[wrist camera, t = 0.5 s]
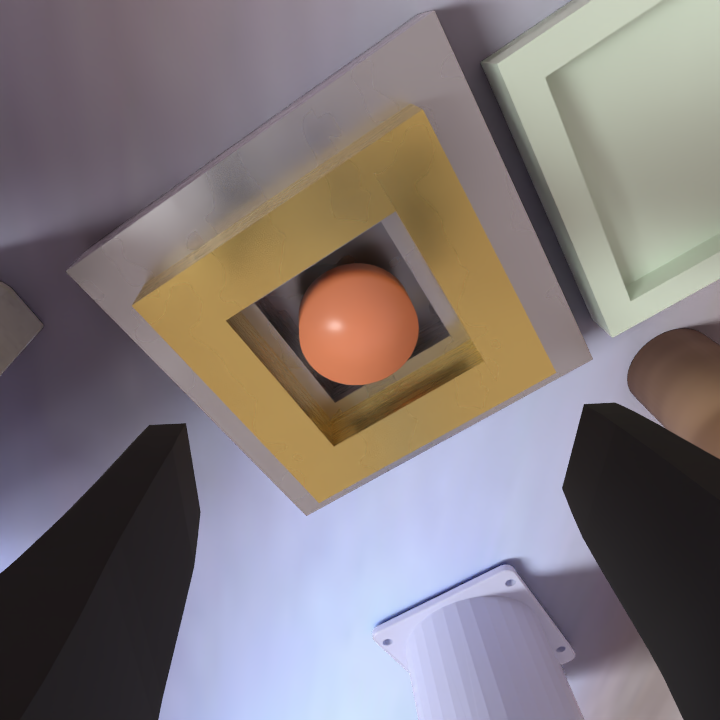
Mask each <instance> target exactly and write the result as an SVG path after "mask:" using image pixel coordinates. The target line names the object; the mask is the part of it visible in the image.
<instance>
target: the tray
mask: <svg viewBox="0 0 720 720" xmlns="http://www.w3.org/2000/svg"><path fill="white" fill-rule="evenodd" d="M480 63H481V65H482V67H483V70H484V72H485V74H486V76H487V79H488V81H489V83H490V86H491V88H492V90H493V93H494V95H495V97H496V99H497V102H498V104H499V106H500V109H501V111H502V113H503V116H504V118H505V120H506V122H507V125H508V127H509V129H510V132H511V134H512V136H513V139H514V141H515V143H516V145H517V148H518V150H519V152H520V155H521V157H522V159H523V162H524V164H525V166H526V168H527V171H528V173H529V175H530V178H531V180H532V182H533V185H534V187H535V189H536V191H537V194H538V196H539V198H540V201H541V203H542V205H543V208H544V210H545V212H546V214H547V217H548V219H549V221H550V224H551V226H552V228H553V231H554V233H555V235H556V237H557V240H558V242H559V244H560V247H561V249H562V251H563V254H564V256H565V258H566V260H567V263H568V265H569V267H570V270H571V272H572V274H573V277H574V279H575V281H576V283H577V286H578V288H579V290H580V293H581V295H582V297H583V300H584V302H585V304H586V306H587V309H588V311H589V313H590V316H591V318H592V320H593V321H594V322H596V323H597V324H598V325H599V326H600V327H601V328H602V329H603V330H604V331H605V332H607V333H608V334H609V335H610V336H611V337H612V338H613V337H615V336H617V335H618V334H620V333H622V332H624V331H626V330H628V329H629V328H631V327H633V326H635V325H637V324H638V323H640V322H642V321H644V320H646V319H648V318H649V317H651V316H653V315H655V314H657V313H658V312H660V311H662V310H664V309H666V308H667V307H669V306H671V305H673V304H675V303H677V302H678V301H680V300H682V299H684V298H686V297H687V296H689V295H691V294H693V293H695V292H697V291H698V290H700V289H702V288H704V287H706V286H707V285H709V284H711V283H713V282H715V281H716V280H718V279H720V0H572V1H570V2H569V3H567V4H566V5H564V6H563V7H561V8H560V9H558V10H557V11H555V12H554V13H552V14H551V15H549V16H548V17H547V18H545V19H544V20H542V21H541V22H539V23H538V24H536V25H535V26H533V27H532V28H530V29H529V30H527V31H526V32H524V33H523V34H521V35H520V36H518V37H517V38H516V39H514V40H513V41H511V42H510V43H508V44H507V45H505V46H504V47H502V48H501V49H499V50H498V51H496V52H495V53H493V54H492V55H490V56H489V57H487V58H486V59H485V60H483V61H482V62H480Z"/></svg>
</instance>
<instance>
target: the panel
mask: <svg viewBox="0 0 720 720" xmlns="http://www.w3.org/2000/svg"><path fill="white" fill-rule="evenodd" d="M351 263H364V264H370V265H374V266H377V267H380V268H382V269H384V270H386V271H388V272H390V273H391V274H392V275H393V276H395V277H396V278H397V279H398V280H399V281H400V282H401V284H402V285H403V287H404V288H405V290H406V292H407V294H408V296H409V298H410V300H411V302H412V304H413V306H414V309H415V311H416V314H417V318H418V323H419V333H418V339H417V343H416V346H415V348H414V351H413V352H412V354H411V356H410V357H409V359H408V360H407V362H406V363H405V364H404V365H403V366H402V367H401V368H400V369H399V370H397V371H396V372H395V373H393V374H392V375H390V376H389V377H387V378H385V379H383V380H380V381H377V382H374V383H370V384H364V385H346V384H341V383H337V382H334V381H332V380H329V379H327V378H325V377H324V376H322V375H321V374H319V373H318V372H317V371H316V370H314V369H313V367H312V366H311V365H310V364H309V363H308V361H307V360H306V358H305V356H304V354H303V352H302V349H301V346H300V340H299V307H300V304H301V300H302V298H303V296H304V294H305V292H306V290H307V289H308V287H309V286H310V285H311V284H312V282H313V281H314V280H316V279H317V278H318V277H319V276H320V275H322V274H323V273H325V272H326V271H328V270H330V269H332V268H335V267H337V266H341V265H344V264H351ZM66 273H67V274H68V275H69V276H70V277H71V278H72V279H73V280H74V281H75V282H76V283H77V284H78V285H79V286H80V287H81V288H82V289H83V290H84V291H85V292H86V293H87V294H88V295H89V296H90V297H91V298H92V299H93V300H94V301H95V302H96V303H97V304H98V305H99V306H100V307H101V308H102V309H103V310H104V311H105V312H106V313H107V314H108V315H109V316H110V317H111V318H112V319H113V320H114V321H115V322H116V323H117V324H118V325H119V326H120V327H121V328H122V329H123V330H124V331H125V332H126V333H127V334H128V335H129V336H130V337H131V338H132V340H133V341H134V342H135V343H136V344H137V345H138V346H139V347H140V348H141V349H142V350H143V351H144V352H145V353H146V354H147V355H148V356H149V357H150V358H151V359H152V360H153V361H154V362H155V363H156V364H157V365H158V366H159V367H160V368H161V369H162V370H163V371H164V372H165V373H166V374H167V375H168V376H169V377H170V378H171V379H172V380H173V381H174V382H175V383H176V384H177V385H178V386H179V387H180V388H181V389H182V390H183V391H184V392H185V393H186V394H187V395H188V396H189V397H190V398H191V399H192V400H193V401H194V402H195V403H196V404H197V405H198V406H199V407H200V408H201V410H202V411H203V412H204V413H205V414H206V415H207V416H208V417H209V418H210V419H211V420H212V421H213V422H214V423H215V424H216V425H217V426H218V427H219V428H220V429H221V430H222V431H223V432H224V433H225V434H226V435H227V436H228V437H229V438H230V439H231V440H232V441H233V442H234V443H235V444H236V445H237V446H238V447H239V448H240V449H241V450H242V451H243V452H244V453H245V454H246V455H247V456H248V457H249V458H250V459H251V460H252V461H253V462H254V463H255V464H256V465H257V466H258V467H259V468H260V469H261V470H262V471H263V472H264V473H265V474H266V475H267V476H268V477H269V478H270V479H271V481H272V482H273V483H274V484H275V485H276V486H277V487H278V488H279V489H280V490H281V491H282V492H283V493H284V494H285V495H286V496H287V497H288V498H289V499H290V500H291V501H292V502H293V503H294V504H295V505H296V506H297V507H298V508H299V509H300V510H301V511H302V512H303V513H304V514H305V515H306V516H307V515H309V514H311V513H313V512H314V511H316V510H318V509H320V508H322V507H324V506H325V505H327V504H329V503H331V502H333V501H335V500H336V499H338V498H340V497H342V496H344V495H346V494H347V493H349V492H351V491H353V490H355V489H357V488H358V487H360V486H362V485H364V484H366V483H368V482H369V481H371V480H373V479H375V478H377V477H378V476H380V475H382V474H384V473H386V472H388V471H389V470H391V469H393V468H395V467H397V466H399V465H400V464H402V463H404V462H406V461H408V460H410V459H411V458H413V457H415V456H417V455H419V454H421V453H422V452H424V451H426V450H428V449H430V448H431V447H433V446H435V445H437V444H439V443H441V442H442V441H444V440H446V439H448V438H450V437H452V436H453V435H455V434H457V433H459V432H461V431H463V430H464V429H466V428H468V427H470V426H472V425H474V424H475V423H477V422H479V421H481V420H483V419H484V418H486V417H488V416H490V415H492V414H494V413H495V412H497V411H499V410H501V409H503V408H505V407H506V406H508V405H510V404H512V403H514V402H516V401H517V400H519V399H521V398H523V397H525V396H527V395H528V394H530V393H532V392H534V391H536V390H538V389H539V388H541V387H543V386H545V385H547V384H548V383H550V382H552V381H554V380H556V379H558V378H559V377H561V376H563V375H565V374H567V373H569V372H570V371H572V370H574V369H576V368H578V367H580V366H581V365H583V364H585V363H587V362H589V361H591V360H592V359H593V358H592V356H591V354H590V352H589V349H588V347H587V345H586V343H585V341H584V338H583V336H582V334H581V332H580V330H579V327H578V325H577V323H576V321H575V319H574V316H573V314H572V312H571V310H570V308H569V305H568V303H567V301H566V299H565V297H564V294H563V292H562V290H561V288H560V286H559V283H558V281H557V279H556V277H555V275H554V272H553V270H552V268H551V266H550V264H549V261H548V259H547V257H546V255H545V253H544V250H543V248H542V246H541V244H540V242H539V239H538V237H537V235H536V233H535V231H534V228H533V226H532V224H531V222H530V220H529V217H528V215H527V213H526V211H525V209H524V206H523V204H522V202H521V200H520V198H519V195H518V193H517V191H516V189H515V187H514V184H513V182H512V180H511V178H510V176H509V173H508V171H507V169H506V167H505V165H504V162H503V160H502V158H501V156H500V154H499V151H498V149H497V147H496V145H495V143H494V140H493V138H492V136H491V134H490V132H489V129H488V127H487V125H486V123H485V121H484V118H483V116H482V114H481V112H480V110H479V107H478V105H477V103H476V101H475V99H474V96H473V94H472V92H471V90H470V88H469V85H468V83H467V81H466V79H465V77H464V74H463V72H462V70H461V68H460V66H459V63H458V61H457V59H456V57H455V55H454V52H453V50H452V48H451V46H450V44H449V41H448V39H447V37H446V35H445V33H444V30H443V28H442V26H441V24H440V22H439V19H438V17H437V15H436V13H435V11H429V12H425V13H420V14H417V15H416V16H414V17H413V18H412V19H410V20H409V21H407V22H406V23H405V24H403V25H402V26H400V27H399V28H398V29H396V30H395V31H393V32H392V33H391V34H389V35H388V36H386V37H385V38H383V39H382V40H381V41H379V42H378V43H376V44H375V45H374V46H372V47H371V48H369V49H368V50H367V51H365V52H364V53H362V54H361V55H360V56H358V57H357V58H355V59H354V60H353V61H351V62H350V63H348V64H347V65H346V66H344V67H343V68H341V69H340V70H338V71H337V72H336V73H334V74H333V75H331V76H330V77H329V78H327V79H326V80H324V81H323V82H322V83H320V84H319V85H317V86H316V87H315V88H313V89H312V90H310V91H309V92H308V93H306V94H305V95H303V96H302V97H301V98H299V99H298V100H296V101H295V102H293V103H292V104H291V105H289V106H288V107H286V108H285V109H284V110H282V111H281V112H279V113H278V114H277V115H275V116H274V117H272V118H271V119H270V120H268V121H267V122H265V123H264V124H263V125H261V126H260V127H258V128H257V129H256V130H254V131H253V132H251V133H250V134H248V135H247V136H246V137H244V138H243V139H241V140H240V141H239V142H237V143H236V144H234V145H233V146H232V147H230V148H229V149H227V150H226V151H225V152H223V153H222V154H220V155H219V156H218V157H216V158H215V159H213V160H212V161H211V162H209V163H208V164H206V165H205V166H203V167H202V168H201V169H199V170H198V171H196V172H195V173H194V174H192V175H191V176H189V177H188V178H187V179H185V180H184V181H182V182H181V183H180V184H178V185H177V186H175V187H174V188H173V189H171V190H170V191H168V192H167V193H166V194H164V195H163V196H161V197H160V198H158V199H157V200H156V201H154V202H153V203H151V204H150V205H149V206H147V207H146V208H144V209H143V210H142V211H140V212H139V213H137V214H136V215H135V216H133V217H132V218H130V219H129V220H128V221H126V222H125V223H123V224H122V225H121V226H119V227H118V228H116V229H115V230H113V231H112V232H111V233H109V234H108V235H106V236H105V237H104V238H102V239H101V240H99V241H98V242H97V243H95V244H94V245H92V246H91V247H90V248H88V249H87V250H86V251H85V252H84V253H83V254H82V255H81V256H80V257H79V258H78V259H77V260H76V261H75V262H74V263H73V264H72V265H71V266H70V267H69V269H68V270H67V271H66Z"/></svg>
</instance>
